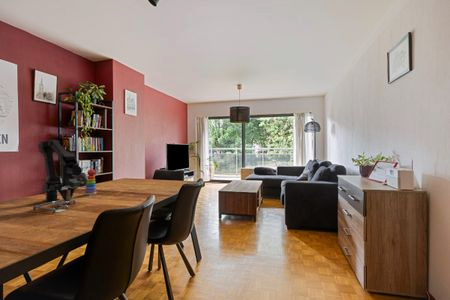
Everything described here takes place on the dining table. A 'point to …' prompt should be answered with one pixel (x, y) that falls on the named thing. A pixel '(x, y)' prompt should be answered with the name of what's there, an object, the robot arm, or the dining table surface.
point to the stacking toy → (90, 183)
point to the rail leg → (55, 202)
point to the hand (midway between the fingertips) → (67, 199)
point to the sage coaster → (60, 210)
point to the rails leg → (52, 208)
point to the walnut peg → (68, 196)
